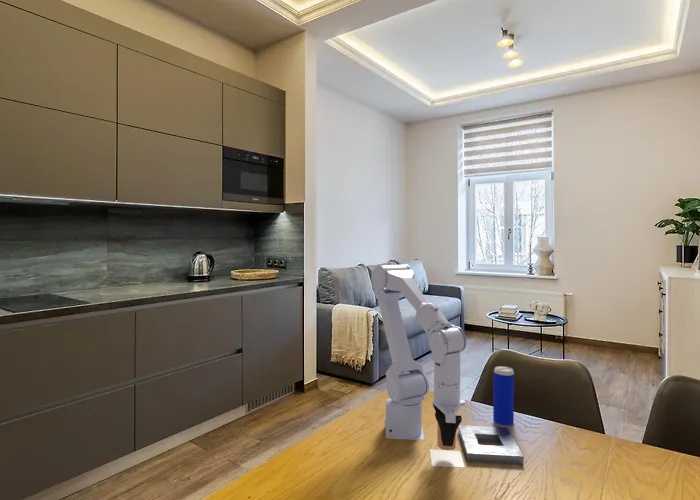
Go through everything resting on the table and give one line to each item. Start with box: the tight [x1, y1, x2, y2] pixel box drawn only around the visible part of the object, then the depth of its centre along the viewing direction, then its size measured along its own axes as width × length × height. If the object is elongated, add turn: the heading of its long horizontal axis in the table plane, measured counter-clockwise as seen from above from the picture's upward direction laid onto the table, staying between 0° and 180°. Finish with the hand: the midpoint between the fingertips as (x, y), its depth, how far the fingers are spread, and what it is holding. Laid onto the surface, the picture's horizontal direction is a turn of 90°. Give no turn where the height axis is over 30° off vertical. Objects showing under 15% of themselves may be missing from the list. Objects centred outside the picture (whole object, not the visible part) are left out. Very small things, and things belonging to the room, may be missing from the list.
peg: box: [436, 423, 457, 451], centre depth 95 cm, size 4×4×6 cm
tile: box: [429, 448, 465, 469], centre depth 95 cm, size 7×7×1 cm
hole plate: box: [458, 424, 525, 466], centre depth 100 cm, size 12×14×3 cm
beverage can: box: [492, 365, 515, 427], centre depth 114 cm, size 5×5×15 cm
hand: (446, 440), depth 95 cm, fingers closed on peg, 4 cm apart
